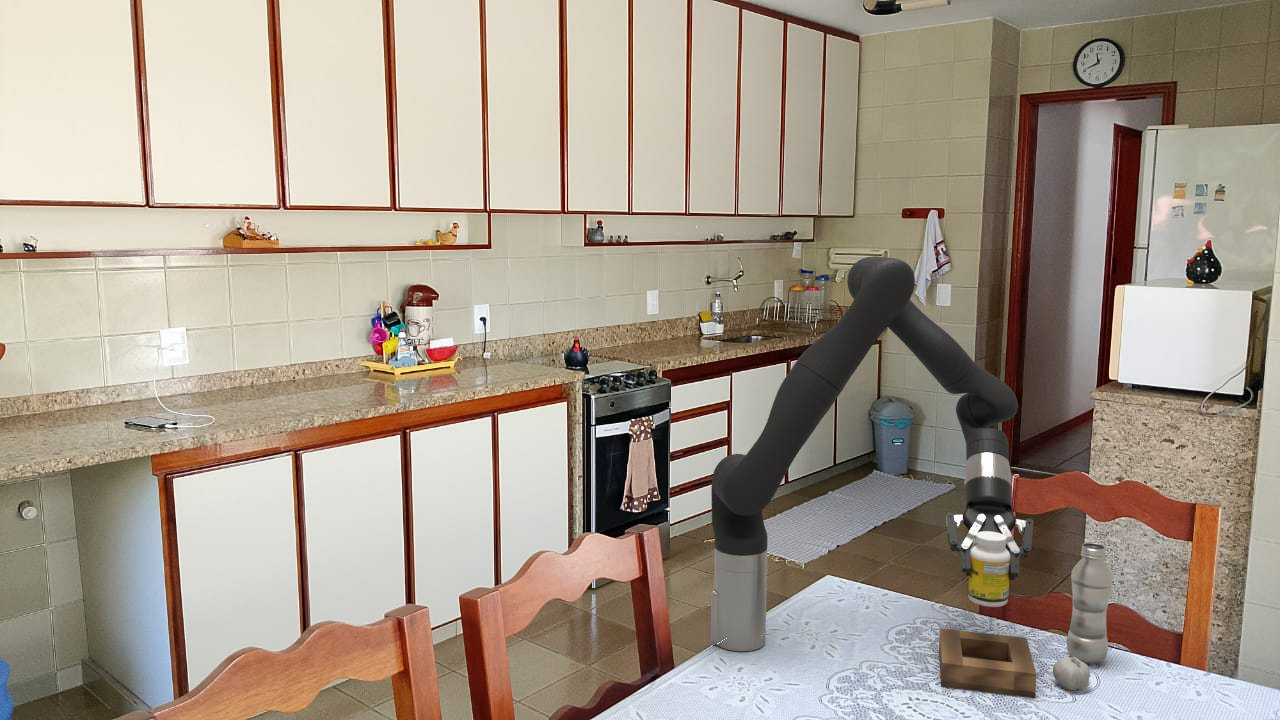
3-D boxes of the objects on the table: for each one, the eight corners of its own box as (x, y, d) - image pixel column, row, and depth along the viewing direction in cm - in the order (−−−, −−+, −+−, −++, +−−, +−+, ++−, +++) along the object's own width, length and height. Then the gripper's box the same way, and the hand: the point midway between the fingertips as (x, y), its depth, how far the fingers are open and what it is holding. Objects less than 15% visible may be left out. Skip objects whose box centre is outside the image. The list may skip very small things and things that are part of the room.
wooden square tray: (941, 686, 153) (942, 662, 152) (938, 650, 166) (939, 628, 165) (1035, 698, 149) (1036, 673, 148) (1025, 660, 162) (1026, 637, 162)
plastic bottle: (1066, 664, 160) (1073, 550, 158) (1064, 648, 167) (1071, 538, 164) (1108, 671, 158) (1116, 555, 155) (1105, 654, 164) (1113, 542, 162)
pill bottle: (965, 592, 160) (968, 528, 158) (1004, 595, 158) (1007, 530, 157) (970, 606, 154) (973, 540, 152) (1010, 609, 152) (1014, 542, 151)
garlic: (1093, 696, 149) (1095, 665, 149) (1056, 693, 151) (1058, 662, 150) (1084, 679, 155) (1086, 649, 155) (1048, 676, 156) (1050, 646, 156)
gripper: (945, 471, 162) (944, 561, 153) (1036, 477, 159) (1041, 570, 149) (942, 493, 168) (942, 581, 159) (1030, 499, 164) (1035, 590, 155)
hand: (990, 575), depth 154 cm, fingers closed on pill bottle, 6 cm apart
